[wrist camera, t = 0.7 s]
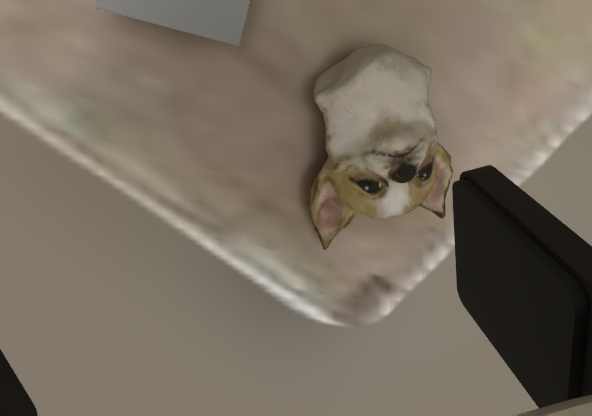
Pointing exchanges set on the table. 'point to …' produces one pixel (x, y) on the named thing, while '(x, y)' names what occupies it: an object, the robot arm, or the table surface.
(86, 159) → the table surface
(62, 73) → the table surface
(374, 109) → the ceramic sculpture
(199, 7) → the arch cover
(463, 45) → the table surface
